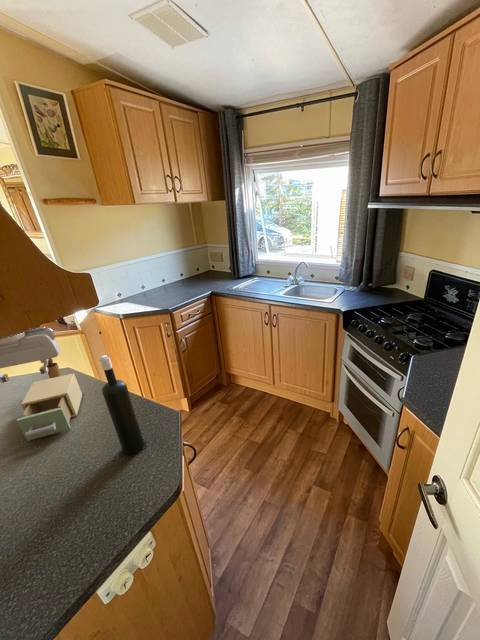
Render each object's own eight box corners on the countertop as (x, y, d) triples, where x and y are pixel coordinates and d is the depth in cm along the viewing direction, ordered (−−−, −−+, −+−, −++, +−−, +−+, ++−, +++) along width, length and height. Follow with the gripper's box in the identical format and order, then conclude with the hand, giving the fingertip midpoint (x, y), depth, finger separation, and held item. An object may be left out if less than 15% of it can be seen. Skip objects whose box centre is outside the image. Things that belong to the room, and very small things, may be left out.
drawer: (67, 437, 89) (58, 417, 85) (22, 450, 84) (11, 429, 81) (76, 406, 103) (68, 387, 100) (38, 415, 99) (29, 397, 96)
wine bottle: (125, 458, 81) (91, 364, 68) (121, 446, 85) (89, 355, 73) (146, 449, 84) (118, 357, 71) (142, 437, 88) (114, 349, 75)
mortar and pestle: (47, 392, 114) (29, 352, 107) (62, 384, 120) (46, 344, 112) (60, 395, 112) (42, 353, 105) (74, 386, 118) (59, 346, 110)
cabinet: (76, 416, 100) (67, 392, 96) (33, 427, 95) (20, 403, 91) (82, 394, 112) (73, 373, 108) (43, 404, 107) (33, 382, 103)
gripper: (52, 321, 84) (69, 363, 90) (-38, 336, 77) (-14, 381, 83) (48, 328, 79) (65, 372, 85) (-50, 345, 72) (-24, 392, 77)
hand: (25, 376), depth 84 cm, fingers open, 8 cm apart
